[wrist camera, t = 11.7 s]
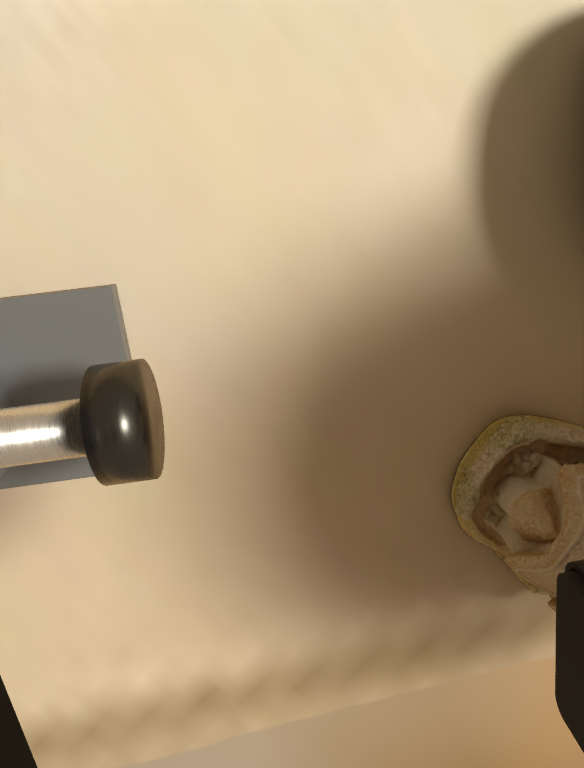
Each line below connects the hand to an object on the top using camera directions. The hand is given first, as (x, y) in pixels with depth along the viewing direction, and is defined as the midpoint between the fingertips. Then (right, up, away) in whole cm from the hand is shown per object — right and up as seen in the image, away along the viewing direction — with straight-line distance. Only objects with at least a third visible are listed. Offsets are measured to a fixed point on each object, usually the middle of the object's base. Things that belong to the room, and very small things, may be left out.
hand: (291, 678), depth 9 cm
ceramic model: (+16, -3, +25) cm, 30 cm away
